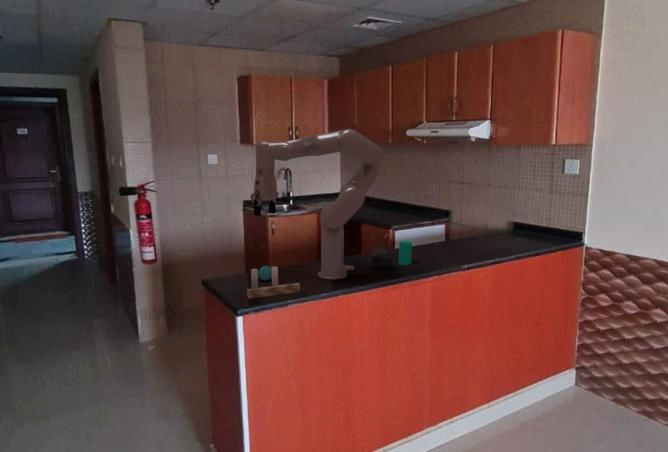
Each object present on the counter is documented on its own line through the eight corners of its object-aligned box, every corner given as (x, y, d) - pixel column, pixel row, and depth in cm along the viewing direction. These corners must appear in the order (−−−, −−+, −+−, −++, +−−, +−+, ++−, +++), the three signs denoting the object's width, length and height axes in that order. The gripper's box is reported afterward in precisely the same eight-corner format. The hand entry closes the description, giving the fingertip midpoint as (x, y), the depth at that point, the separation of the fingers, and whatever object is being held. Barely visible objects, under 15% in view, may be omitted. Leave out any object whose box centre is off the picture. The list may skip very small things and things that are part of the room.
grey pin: (257, 290, 179) (256, 268, 178) (258, 292, 177) (258, 269, 176) (251, 291, 178) (250, 269, 177) (252, 293, 176) (251, 270, 175)
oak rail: (298, 290, 180) (298, 282, 179) (300, 291, 178) (300, 284, 178) (247, 297, 172) (247, 289, 172) (248, 298, 170) (248, 290, 170)
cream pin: (277, 288, 182) (276, 266, 181) (279, 290, 180) (278, 267, 179) (271, 289, 182) (270, 266, 180) (273, 290, 179) (272, 268, 178)
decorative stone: (368, 265, 216) (368, 244, 214) (388, 264, 219) (388, 243, 217) (375, 271, 207) (375, 249, 205) (396, 269, 209) (396, 248, 207)
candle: (410, 261, 224) (410, 237, 222) (412, 264, 218) (413, 239, 216) (397, 261, 224) (398, 237, 222) (399, 264, 218) (400, 239, 216)
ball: (271, 277, 197) (270, 263, 196) (274, 281, 192) (274, 267, 191) (257, 279, 195) (256, 265, 194) (260, 282, 190) (260, 268, 189)
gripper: (258, 173, 180) (258, 217, 182) (285, 172, 194) (284, 213, 197) (243, 172, 183) (243, 215, 186) (270, 171, 198) (270, 211, 201)
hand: (264, 214), depth 192 cm, fingers open, 9 cm apart
